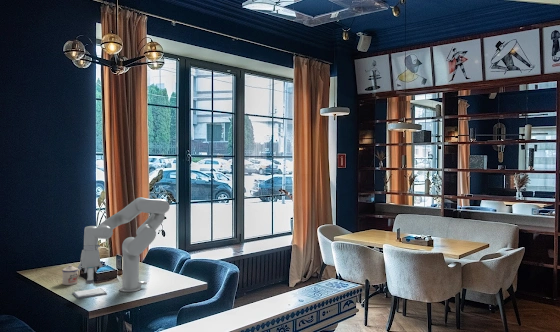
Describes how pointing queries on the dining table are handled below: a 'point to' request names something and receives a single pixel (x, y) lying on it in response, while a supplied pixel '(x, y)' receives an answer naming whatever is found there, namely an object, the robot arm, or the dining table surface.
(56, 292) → the dining table surface
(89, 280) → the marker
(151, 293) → the dining table surface
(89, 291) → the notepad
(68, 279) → the teacup with lid
